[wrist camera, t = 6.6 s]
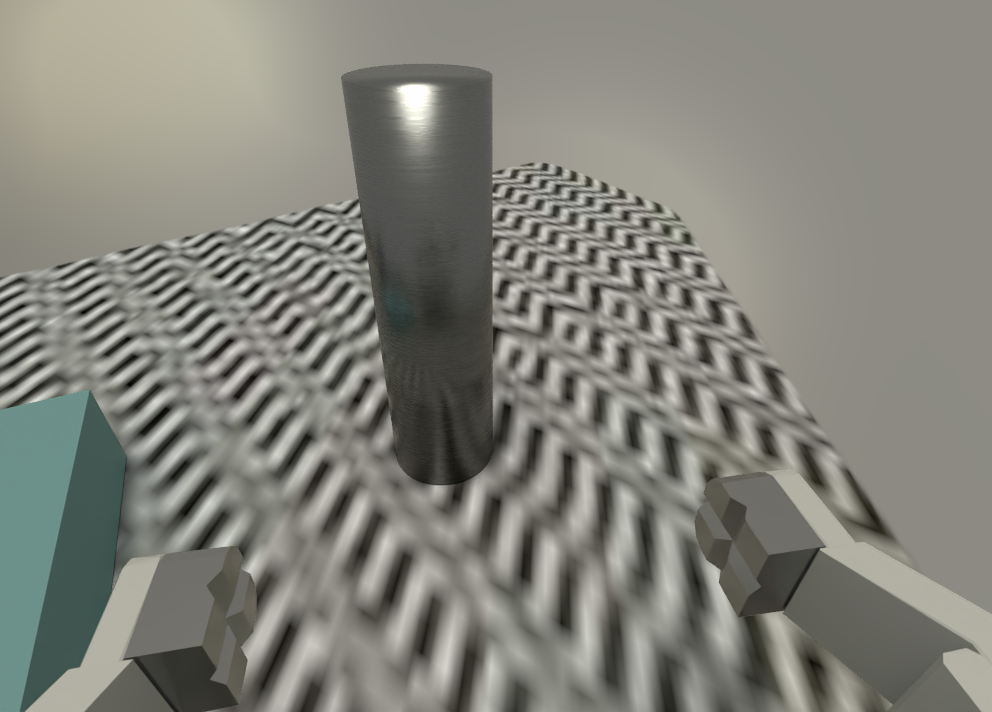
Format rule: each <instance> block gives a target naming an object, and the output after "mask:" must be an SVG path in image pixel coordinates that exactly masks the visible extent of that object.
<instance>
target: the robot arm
mask: <svg viewBox="0 0 992 712" xmlns="http://www.w3.org/2000/svg"><path fill="white" fill-rule="evenodd" d="M704 495H705V496H706V498H707V500H708V501H707V502H706V503H704V504H703V505H702V506H701V507H700V508H699V509H698V511H697V515H696V519H695V529H696V537H697V540H698V543H699V546H700V548H701V550H702V552H703V554H704V556H705V558H706V560H707V561H709V562H710V563H712V564H713V565H714V566H716V567H717V568H719V569H720V570H721V572H720V578H719V584H720V585H721V587H722V589H723V591H724V593H725V594H726V596H727V598H728V600H729V602H730V604H731V605H732V607H733V609H734V611H735V613H736V614H737V616H738V617H743V616H750V615H757V614H764V613H771V612H778V611H784V612H783V614H784V615H786V616H787V617H788V618H789V619H790V620H792V621H793V622H794V623H795V624H796V625H798V626H799V627H800V628H801V629H802V630H804V631H805V632H806V633H807V634H809V635H810V636H811V637H812V638H813V639H815V640H816V641H817V642H818V643H819V644H821V645H822V646H823V647H824V648H825V649H827V650H828V651H829V652H830V653H831V654H833V655H834V656H835V657H836V658H837V659H839V660H840V661H841V662H842V663H843V664H845V665H846V666H847V667H848V668H849V669H851V670H852V671H853V672H854V673H856V674H857V675H858V676H859V677H860V678H862V679H863V680H864V681H865V682H866V683H868V684H869V685H870V686H871V687H872V688H874V689H875V690H876V691H877V692H878V693H880V694H881V695H882V696H883V697H884V698H886V699H887V700H888V701H889V702H890V703H892V704H893V706H892V707H891V708H890V709H889V710H888V711H887V712H992V614H990V613H989V612H987V611H985V610H983V609H982V608H980V607H978V606H976V605H974V604H973V603H971V602H969V601H967V600H966V599H964V598H962V597H960V596H959V595H957V594H955V593H953V592H952V591H950V590H948V589H946V588H945V587H943V586H941V585H939V584H937V583H936V582H934V581H932V580H930V579H929V578H927V577H925V576H923V575H922V574H920V573H918V572H916V571H915V570H913V569H911V568H909V567H907V566H906V565H904V564H902V563H900V562H899V561H897V560H895V559H893V558H892V557H890V556H888V555H886V554H885V553H883V552H881V551H879V550H877V549H876V548H874V547H872V546H870V545H869V544H867V543H865V542H857V543H856V542H855V541H854V540H853V539H852V537H851V536H850V535H849V534H848V532H847V531H846V530H845V529H844V528H843V526H842V525H841V524H840V523H839V522H838V520H837V519H836V518H835V517H834V516H833V514H832V513H831V512H830V511H829V509H828V508H827V507H826V506H825V505H824V503H823V502H822V501H821V500H820V499H819V497H818V496H817V495H816V494H815V493H814V491H813V490H812V489H811V488H810V486H809V485H808V484H807V483H806V482H805V480H804V479H803V478H802V477H801V476H800V474H799V473H797V472H796V471H794V470H792V469H781V470H774V471H768V472H756V473H749V474H743V475H736V476H730V477H723V478H717V479H712V480H711V481H709V482H708V483H707V485H706V487H705V490H704ZM242 560H243V557H242V555H241V553H240V551H239V549H238V547H237V546H230V547H221V548H212V549H204V550H195V551H186V552H178V553H169V554H160V555H153V556H145V557H137V558H131V560H130V561H129V562H128V563H127V564H126V565H125V566H124V568H123V569H122V571H121V573H120V575H119V577H118V580H117V582H116V584H115V587H114V589H113V591H112V594H111V596H110V598H109V601H108V603H107V605H106V608H105V610H104V612H103V615H102V617H101V619H100V622H99V624H98V626H97V628H96V631H95V633H94V635H93V638H92V640H91V642H90V645H89V647H88V649H87V652H86V654H85V656H84V659H83V661H82V663H81V666H80V667H78V668H72V669H68V670H67V671H66V672H65V673H64V674H63V675H62V676H61V677H60V678H59V679H58V680H57V681H56V682H55V683H54V684H53V685H52V686H51V687H50V688H49V689H48V690H47V691H46V692H45V693H44V694H42V695H41V696H40V697H39V698H38V699H37V700H36V701H35V702H34V703H33V704H32V705H31V706H30V707H29V708H28V709H27V710H26V711H25V712H206V711H211V710H216V709H221V708H226V707H231V706H235V705H239V701H240V696H241V691H242V686H243V681H244V676H245V671H246V666H247V661H248V660H247V658H246V656H245V654H244V652H243V650H242V649H241V646H242V645H243V644H244V642H245V641H246V640H247V639H248V637H249V636H250V635H251V634H252V633H253V629H254V623H255V618H256V590H255V585H254V582H253V579H252V577H251V575H250V574H249V573H247V572H245V571H243V570H241V564H242Z"/></svg>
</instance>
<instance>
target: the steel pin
mask: <svg viewBox="0 0 992 712" xmlns="http://www.w3.org/2000/svg"><path fill="white" fill-rule="evenodd" d="M341 79H342V86H343V93H344V100H345V107H346V114H347V121H348V128H349V134H350V141H351V148H352V155H353V161H354V168H355V175H356V182H357V189H358V196H359V203H360V209H361V216H362V223H363V230H364V237H365V243H366V250H367V257H368V264H369V271H370V278H371V284H372V291H373V298H374V305H375V312H376V319H377V325H378V332H379V339H380V346H381V353H382V359H383V366H384V373H385V380H386V387H387V394H388V400H389V407H390V414H391V421H392V428H393V434H394V441H395V448H396V455H397V460H398V463H399V465H400V466H401V468H402V469H403V470H404V471H405V472H406V473H407V474H408V475H409V476H411V477H412V478H414V479H416V480H418V481H421V482H424V483H428V484H435V485H447V484H454V483H458V482H462V481H465V480H467V479H469V478H471V477H473V476H475V475H476V474H478V473H479V472H480V471H481V470H482V469H483V468H484V467H485V466H486V465H487V463H488V462H489V460H490V458H491V455H492V450H493V329H492V74H491V73H490V72H488V71H486V70H482V69H479V68H474V67H467V66H459V65H458V66H457V65H443V64H403V65H388V66H378V67H370V68H365V69H359V70H355V71H351V72H348V73H346V74H344V75H343V76H342V77H341Z"/></svg>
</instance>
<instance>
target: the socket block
mask: <svg viewBox="0 0 992 712" xmlns="http://www.w3.org/2000/svg"><path fill="white" fill-rule="evenodd" d="M126 457H127V456H126V454H125V452H124V450H123V449H122V447H121V445H120V443H119V441H118V440H117V438H116V436H115V434H114V432H113V431H112V429H111V427H110V425H109V423H108V422H107V420H106V418H105V416H104V414H103V413H102V411H101V409H100V407H99V405H98V404H97V402H96V400H95V398H94V396H93V395H92V393H91V391H90V390H86V391H82V392H77V393H73V394H68V395H64V396H60V397H55V398H51V399H46V400H42V401H38V402H33V403H29V404H25V405H20V406H16V407H11V408H7V409H3V410H0V712H25V711H26V710H27V709H28V708H29V707H30V706H31V705H32V704H33V703H34V702H35V701H36V700H37V699H38V698H39V697H40V696H41V695H42V694H44V693H45V692H46V691H47V690H48V689H49V688H50V687H51V686H52V685H53V684H54V683H55V682H56V681H57V680H58V679H59V678H60V677H61V676H62V675H63V674H64V673H65V672H66V671H67V670H68V669H72V668H78V667H80V666H81V663H82V661H83V659H84V656H85V654H86V652H87V649H88V647H89V645H90V642H91V640H92V638H93V635H94V633H95V631H96V628H97V626H98V624H99V622H100V619H101V617H102V615H103V612H104V610H105V608H106V605H107V603H108V601H109V598H110V596H111V588H112V580H113V571H114V562H115V553H116V544H117V536H118V527H119V518H120V509H121V501H122V492H123V483H124V474H125V465H126Z"/></svg>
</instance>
